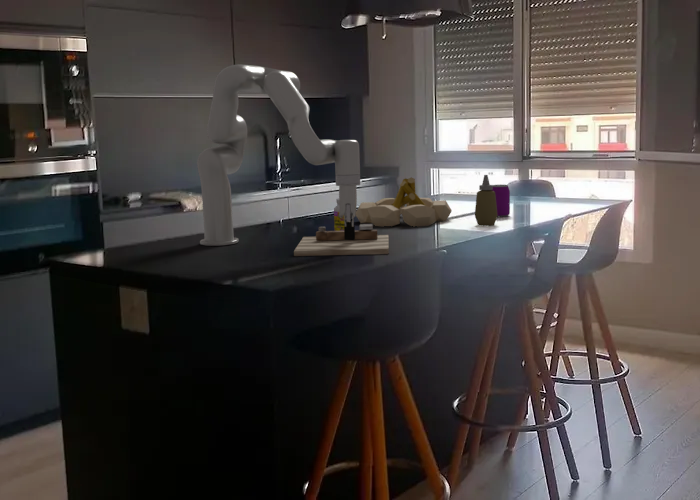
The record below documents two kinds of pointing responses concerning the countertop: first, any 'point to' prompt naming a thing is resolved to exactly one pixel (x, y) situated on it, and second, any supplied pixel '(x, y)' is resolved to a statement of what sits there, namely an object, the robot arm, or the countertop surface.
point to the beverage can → (502, 200)
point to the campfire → (404, 209)
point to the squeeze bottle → (486, 204)
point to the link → (340, 235)
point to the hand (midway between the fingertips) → (349, 239)
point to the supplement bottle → (338, 219)
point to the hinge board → (343, 245)
